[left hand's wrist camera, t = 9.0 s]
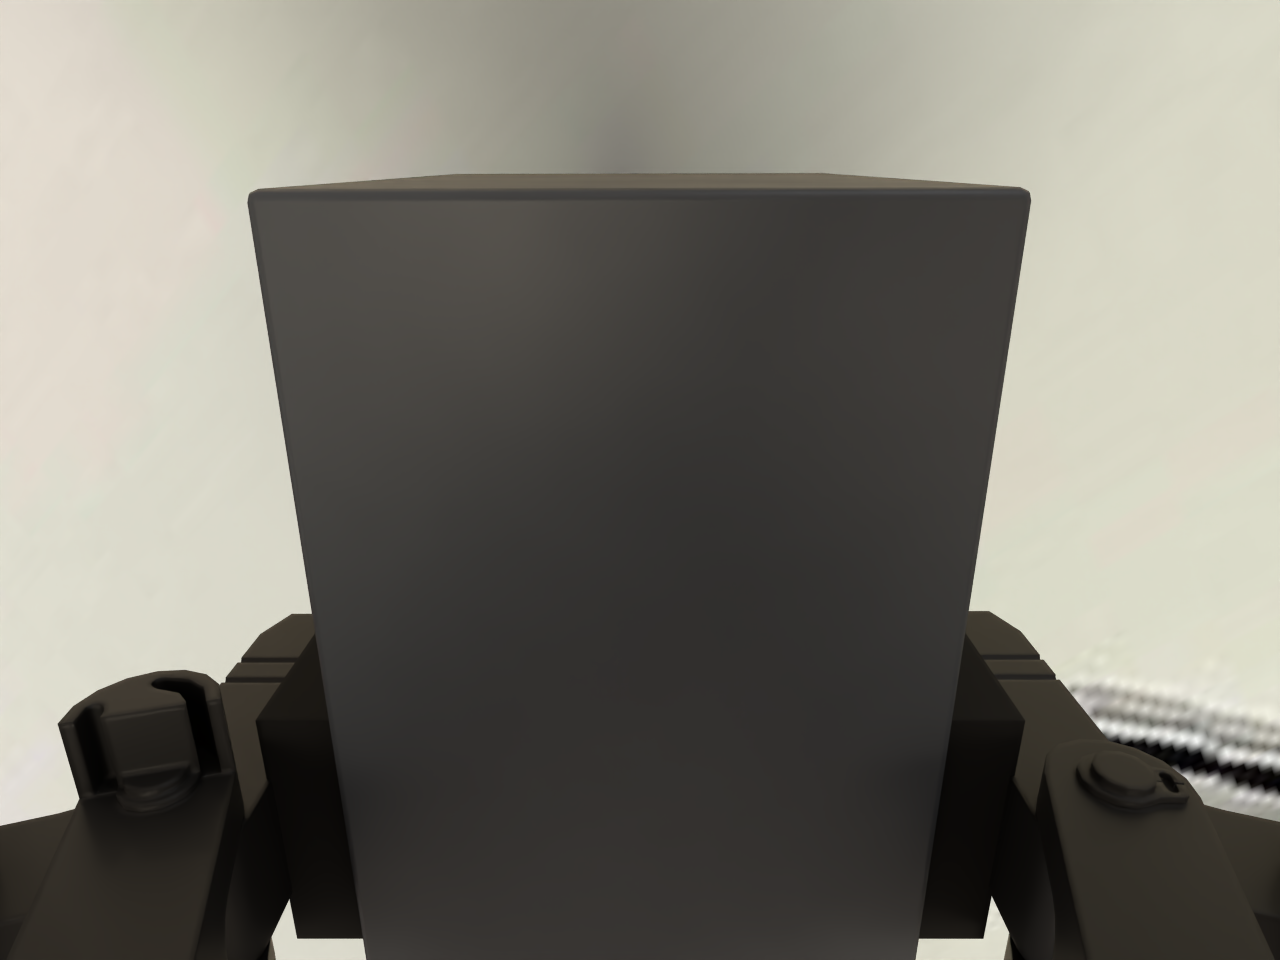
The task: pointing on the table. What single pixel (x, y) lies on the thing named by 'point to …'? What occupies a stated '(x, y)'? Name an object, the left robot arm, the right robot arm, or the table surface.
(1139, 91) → the table surface
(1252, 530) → the table surface
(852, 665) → the bar
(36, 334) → the table surface
